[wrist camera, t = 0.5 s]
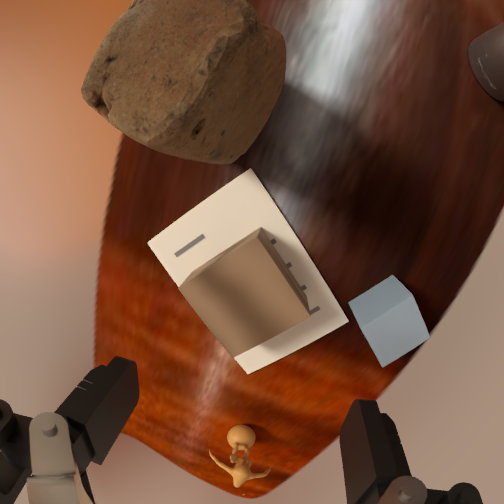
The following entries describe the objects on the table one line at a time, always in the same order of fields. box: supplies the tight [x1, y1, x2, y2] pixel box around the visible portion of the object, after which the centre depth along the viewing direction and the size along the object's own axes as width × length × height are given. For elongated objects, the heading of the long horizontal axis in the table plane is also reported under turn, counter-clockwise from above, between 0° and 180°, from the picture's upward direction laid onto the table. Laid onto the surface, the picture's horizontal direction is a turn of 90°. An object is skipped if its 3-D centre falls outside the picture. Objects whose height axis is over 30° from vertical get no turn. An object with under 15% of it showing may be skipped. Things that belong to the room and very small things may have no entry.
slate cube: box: [348, 275, 430, 367], centre depth 30 cm, size 6×6×6 cm
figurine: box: [209, 425, 271, 488], centre depth 33 cm, size 8×6×12 cm
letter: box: [148, 168, 349, 374], centre depth 33 cm, size 14×20×1 cm
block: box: [81, 0, 286, 165], centre depth 19 cm, size 11×8×20 cm
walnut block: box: [178, 227, 311, 358], centre depth 30 cm, size 9×9×5 cm
